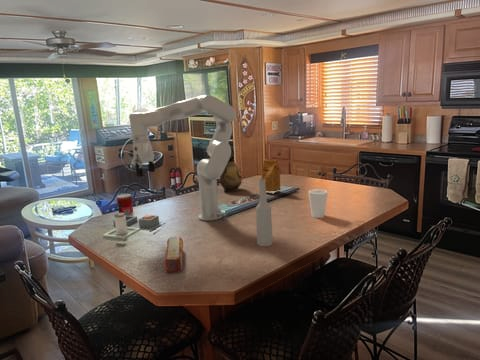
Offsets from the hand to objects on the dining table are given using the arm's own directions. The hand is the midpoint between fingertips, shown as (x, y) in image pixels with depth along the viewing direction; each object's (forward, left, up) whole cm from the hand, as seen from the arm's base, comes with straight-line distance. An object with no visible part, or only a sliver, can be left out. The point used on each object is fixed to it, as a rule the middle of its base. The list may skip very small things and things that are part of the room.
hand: (146, 173), depth 175 cm
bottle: (-61, +5, -28) cm, 67 cm away
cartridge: (+8, +12, -27) cm, 31 cm away
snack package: (-32, +31, -28) cm, 53 cm away
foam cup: (-77, -37, -28) cm, 89 cm away
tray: (+8, +12, -28) cm, 32 cm away
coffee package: (-39, -81, -28) cm, 94 cm away
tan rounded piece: (+2, -1, -26) cm, 26 cm away
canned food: (+30, -19, -28) cm, 45 cm away
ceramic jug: (-10, -83, -28) cm, 88 cm away
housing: (+9, -1, -28) cm, 30 cm away
